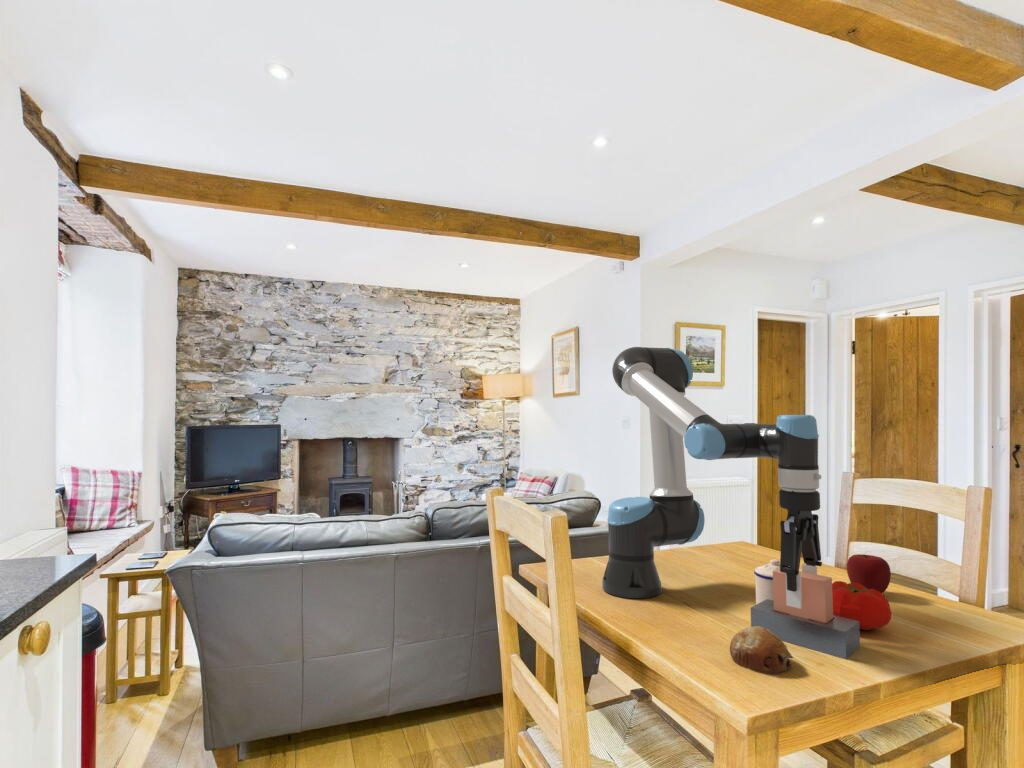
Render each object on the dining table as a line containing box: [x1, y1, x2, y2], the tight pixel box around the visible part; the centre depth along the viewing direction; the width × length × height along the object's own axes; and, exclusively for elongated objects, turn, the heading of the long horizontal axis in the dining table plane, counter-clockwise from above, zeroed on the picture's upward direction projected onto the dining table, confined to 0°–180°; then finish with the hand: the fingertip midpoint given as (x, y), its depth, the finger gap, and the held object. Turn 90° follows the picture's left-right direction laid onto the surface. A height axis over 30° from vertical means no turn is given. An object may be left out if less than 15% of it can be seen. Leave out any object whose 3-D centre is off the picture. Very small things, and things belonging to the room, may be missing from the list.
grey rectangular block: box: [750, 599, 861, 660], centre depth 114 cm, size 18×8×5 cm, turn 42°
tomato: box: [832, 580, 892, 631], centre depth 120 cm, size 14×13×9 cm
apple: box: [846, 553, 892, 594], centre depth 142 cm, size 10×10×10 cm
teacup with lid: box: [753, 558, 780, 605], centre depth 131 cm, size 12×9×12 cm
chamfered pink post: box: [773, 568, 833, 624], centre depth 114 cm, size 10×4×11 cm, turn 42°
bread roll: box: [729, 626, 794, 675], centre depth 104 cm, size 10×10×8 cm
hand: (802, 601), depth 114 cm, fingers open, 8 cm apart
